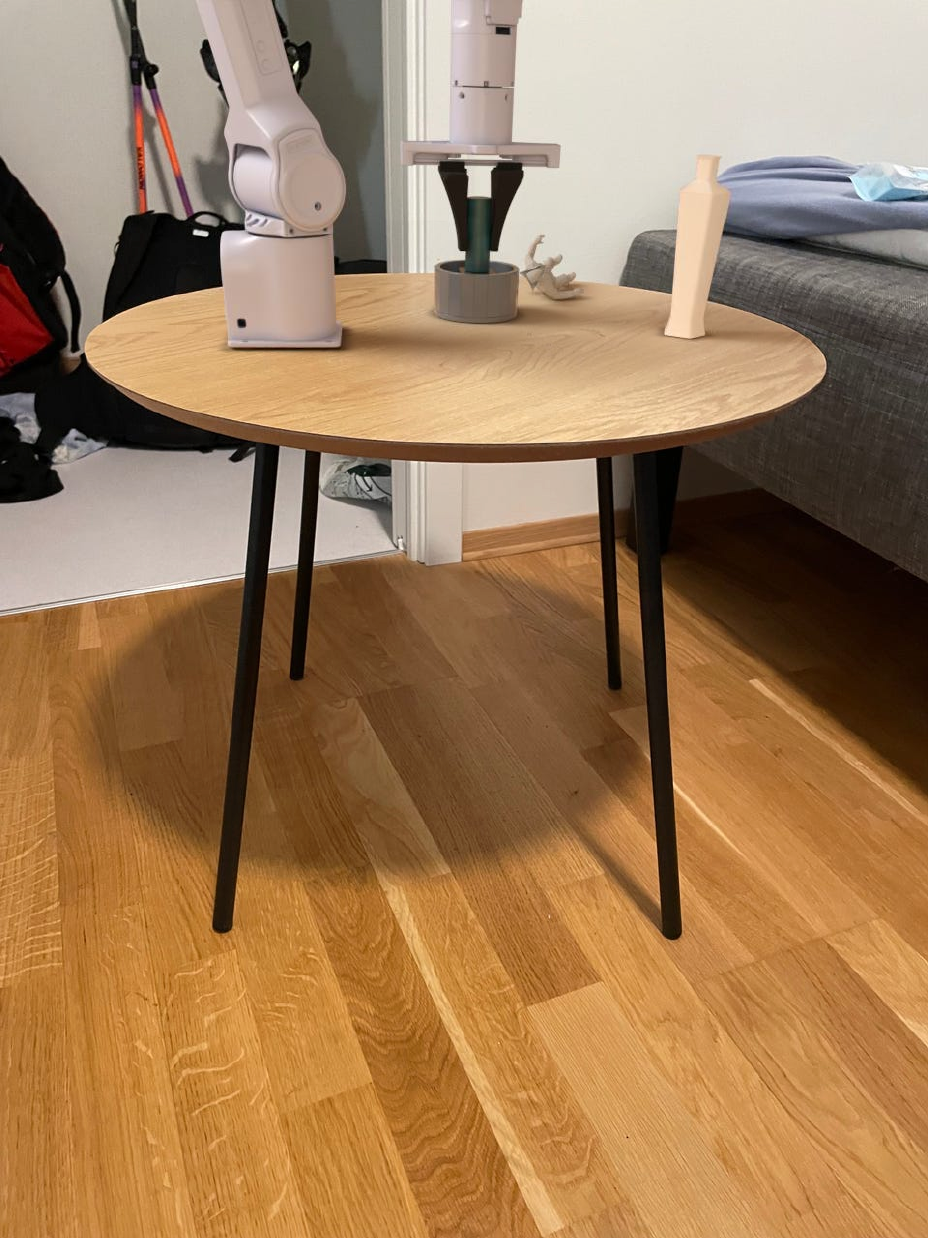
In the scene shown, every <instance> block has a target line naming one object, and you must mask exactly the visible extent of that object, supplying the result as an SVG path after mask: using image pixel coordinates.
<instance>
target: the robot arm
mask: <svg viewBox="0 0 928 1238" xmlns="http://www.w3.org/2000/svg"><path fill="white" fill-rule="evenodd" d="M523 1H524V0H451V3H450V4H451V7H450V9H451V10H450V11H451V12H450V69H449V70H450V75H449V76H450V77H449V78H450V81H449V84H450V87H449V140H400V164H401V166H403V167H404V166H406V167H407V166H408V167H411V166H412V167H413V166H437V172H438V175H439V177H440V180H441V183H442V184H443V188H444V190H445V193H446V197H447V199H448V202H449V203H448V204H449V205H450V209H451V213H452V217H453V221H454V226H455V232H456V238H457V249H458V251H459V252H465V251H467V245H468V236H467V197H468V193H469V179H470V177H469V176H468V168H466V167H492V169H491V170H490V198H492V218H491V239H490V253H491V252H492V253H493V252H494V253H495V252H499V247H500V241H501V236H502V233H503V229H504V226H505V222H506V219H507V216H508V214H509V211H510V208H511V206H512V203H513V201H514V199H515V197H516V194H517V192H518V190H519V188H520V187H521V185H522V182H523V179H524V176H525V171H524V170H523V168H546V169H559V168H560V162H561V144H558V143H547V142H525V141H523V142H521V141H519V142H518V141H513V128H514V125H513V124H514V104H515V103H514V102H515V84H516V83H515V81H516V59H517V37H518V35H517V34H518V25H519V20H520V19H522V15H523V14H522V13H523V12H522V11H523ZM195 3H196V6H197V9H198V12H199V15H200V19H201V22H202V24H203V29H204V31H205V34H206V38H207V40H208V43H209V47H210V50H211V54H212V56H213V60H214V63H215V66H216V69H217V72H218V75H219V79H220V81H221V85H222V89H223V91H224V94H225V97H226V101H227V104H228V107H229V109H228V115H227V119H226V122H225V126H224V131H223V136H224V139H225V141H226V145H227V149H228V155H229V156H228V157H229V164H228V166H229V167H228V184H229V189H230V191H231V195H232V196H233V199H234V200H235V202H236V203H237V204H238V206H239V207H240V208H241V209H242V210H243V211H244V212H245V218H244V230H224V231H223V232H222V233H221V236H220V250H219V251H220V269H221V271H220V272H221V281H222V289H223V300H224V316H225V321H226V327H227V329H226V330H227V339H228V340H227V347H229V348H340V347H341V346H342V339H343V322H342V321H341V320H337V301H336V300H337V299H336V280H335V279H336V278H335V255H334V254H335V253H334V252H335V251H334V222H335V221H336V220H337V219H338V217H339V216H340V214H341V212H342V210H343V208H344V205H345V201H346V196H347V182H346V176H345V172H344V169H343V168H342V166H341V164H340V162H339V160H338V159H337V158H336V156H335V155H334V154H333V153H332V152H331V150H330V149H329V147H328V146H327V144H326V141H325V138H324V136H323V135H324V134H323V132H322V128H321V124H320V123H319V121H318V119H317V118H316V117H315V115H314V114H313V113H312V112H311V110H310V109H309V107H308V106H307V105H306V104H305V102H304V101H303V99H302V98H301V96H299V94H298V92H297V89H296V88H297V87H296V84H295V82H294V78H293V74H292V70H291V66H290V63H289V59H288V56H287V53H286V49H285V45H284V41H283V37H282V34H281V33H282V32H281V29H280V27H279V26H280V25H279V22H278V20H277V15H276V11H275V8H274V4H273V0H195ZM462 155H467V156H498V157H499V158H501V159H474V158H473V159H469V158H467V159H465V158H462Z"/></svg>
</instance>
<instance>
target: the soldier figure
mask: <svg viewBox="0 0 928 1238" xmlns="http://www.w3.org/2000/svg"><path fill="white" fill-rule="evenodd" d="M545 237H546V235H545V234H540V235H537V236H535V238H534V240H533V241H532V242H531V243H530V245H529V248H528V249H527V252H526V254H525V256H524V266H525V269H524V270H521V271H519V275H521V277H523V278H524V279H525V280H526V281H527V282H528V284H529V286H530V288H531V291H532V292H534V291H535V289H537V290H539V292H540V293H541V294H545V295H547V296H549V297H551V298H552V300H566V299H571V298H573V297H577V298H578V297H580V295H582V294H585V290H584V289H583V288H581V287H577V288H575V289H573V290H560V289H561V288H562V287H568V286H569V284H570V283H572V282H574V280H575V278H576V276H577V274H576V272H573V271H572V272H570V273H569V274H566V273H561V274H560V275H558V276H555V275H554V274H553V272H552V270H553V269H554V268H555V267H556V266H557V265H559V264H561V262H562V260H563V258H564V257H563V255H562V253H561V254H560V253H559V254H557V255H556V256H555V257H554V258H553V257H552V256H548V257H546V259H545V260H543V261H542V263H541V262H537V261H535V259H534V258H535V255H536V250H537V246H538V245H540V244H541V245H542V244H544V241H542V239H543V238H545Z"/></svg>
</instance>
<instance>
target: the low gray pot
mask: <svg viewBox="0 0 928 1238" xmlns="http://www.w3.org/2000/svg"><path fill="white" fill-rule="evenodd" d="M459 267H465V259H454V260H446V261H442V262H438V263H436V264H434V267H433V270H434V271H433V272H434V274H433V275H434V276H433V309H434V311H433V312H434V315H435V316H436V317H437V318H441V319H443V320H447V321H451V322H458V323H466V324H467V323H469V324H495V323H502V322H507V321H511V320H513V319H515V318H516V317H517V316H518V314H517V313H518V307H519V290H520V289H519V286H520V267H519V266H517V265H516V264H513V263H510V262H509V263H508V262H504V261H497V260H490V268H493V270H494V271H495V273H496V274H465V273H458V268H459Z"/></svg>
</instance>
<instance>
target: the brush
mask: <svg viewBox="0 0 928 1238" xmlns="http://www.w3.org/2000/svg"><path fill="white" fill-rule="evenodd" d="M491 218H492V198H491V196H484V195H483V196H481V195H480V196H479V195H476V196H475V195H474V196H467V236H468V245H467V251H464V260H465V267H459V268H458V273H465V274H496V273H495V271H494V270H493V268H490V261H491V251H490V239H491Z"/></svg>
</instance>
